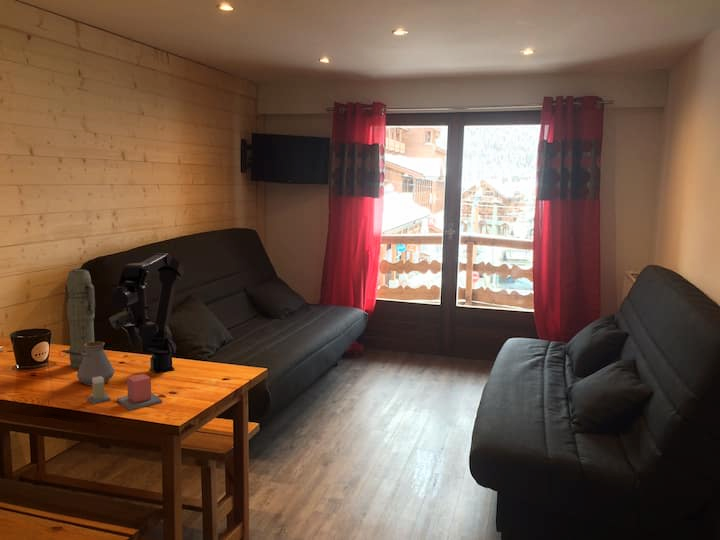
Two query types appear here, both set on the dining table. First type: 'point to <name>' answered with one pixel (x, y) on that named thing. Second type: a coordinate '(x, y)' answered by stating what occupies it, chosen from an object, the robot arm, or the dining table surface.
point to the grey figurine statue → (80, 312)
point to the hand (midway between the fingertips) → (138, 349)
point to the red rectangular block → (139, 388)
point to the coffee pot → (93, 363)
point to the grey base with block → (98, 391)
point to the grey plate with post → (131, 405)
